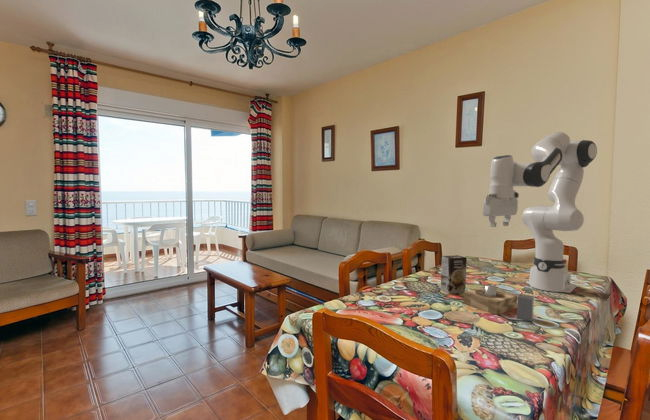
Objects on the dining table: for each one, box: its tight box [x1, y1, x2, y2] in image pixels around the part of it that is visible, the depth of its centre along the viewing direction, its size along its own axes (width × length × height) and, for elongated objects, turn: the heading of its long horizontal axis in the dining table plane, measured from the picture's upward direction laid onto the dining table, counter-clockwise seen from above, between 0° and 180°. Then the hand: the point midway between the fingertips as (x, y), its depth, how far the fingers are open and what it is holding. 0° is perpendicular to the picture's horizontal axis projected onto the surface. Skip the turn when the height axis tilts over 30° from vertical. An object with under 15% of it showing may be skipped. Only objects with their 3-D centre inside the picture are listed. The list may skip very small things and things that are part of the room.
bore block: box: [462, 286, 518, 316], centre depth 130 cm, size 14×14×5 cm
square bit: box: [516, 293, 535, 323], centre depth 118 cm, size 4×4×8 cm
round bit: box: [484, 284, 497, 296], centre depth 130 cm, size 4×4×8 cm
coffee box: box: [440, 255, 468, 295], centre depth 149 cm, size 9×6×16 cm
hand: (499, 226), depth 138 cm, fingers open, 8 cm apart
